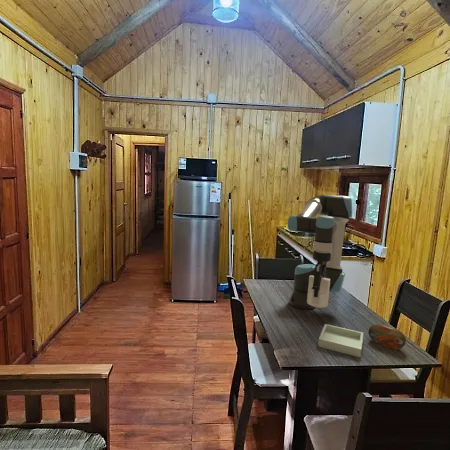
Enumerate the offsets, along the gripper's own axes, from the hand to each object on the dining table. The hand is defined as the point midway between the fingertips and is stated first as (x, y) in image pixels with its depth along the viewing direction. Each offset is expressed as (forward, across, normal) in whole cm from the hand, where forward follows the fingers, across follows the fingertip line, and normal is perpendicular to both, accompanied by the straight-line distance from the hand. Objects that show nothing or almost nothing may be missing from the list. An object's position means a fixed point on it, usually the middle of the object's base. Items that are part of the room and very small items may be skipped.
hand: (317, 300), depth 145 cm
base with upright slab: (+2, 0, 0) cm, 2 cm away
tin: (+18, -11, +29) cm, 36 cm away
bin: (+18, -1, +12) cm, 21 cm away
